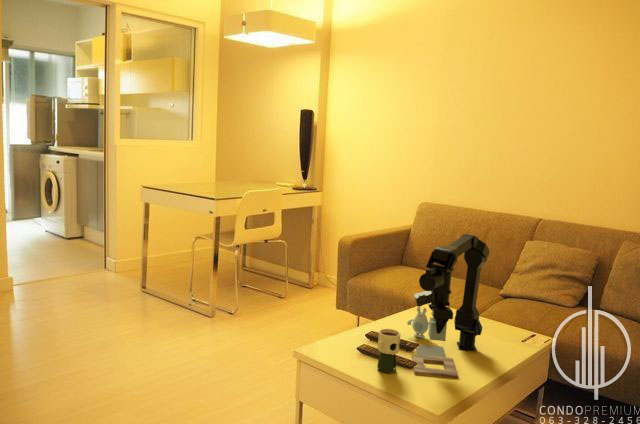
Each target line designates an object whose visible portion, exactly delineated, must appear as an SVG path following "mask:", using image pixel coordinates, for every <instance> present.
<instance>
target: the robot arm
mask: <svg viewBox="0 0 640 424" xmlns="http://www.w3.org/2000/svg"><path fill="white" fill-rule="evenodd" d="M462 254H463V260H464V261H465V263H466V267H467V268H466V273H465V274H466V276H465V281H464V282H465V283H464V291H463V297H462V305H460V307H458V308H457V309H456V311H455V316H454V312H453V310H452V309H451V307H450V306H451V303H450V296H451V294H452V290H451V284H452V272H454V271H455V269H454V266H455V265H456V264H457V262H458V257H460V256H461V255H462ZM489 256H490V248H489V247H488V245H487V243H485V242H484V241H482V240H481V239H480V238H479V237H478V236H476V235H475V234H468V233H465V234H461V236H460V237H459V238H457V239H455V240H454V241H453V242H451V243H449V244H448V245H439V246H436V247H435V248H434V249H433V250H432V251H431V254H430V256H429V259H428V261H427V263H426V266H425V268H426V269H425V273H422V274H421V275H420V277H419V279H418V283H419V286H420V288H421V289H422V290H423V291H421V292H417V293H414V295H413V297H414V299H415V303H416V306H417V307H420V308H421V307H422V306H425V305H428V307H429V309H430V311H431V317H432V318H435V320H436V331H437V333H438V334H440V333H441V331H442V330H443V328H444V326H445V325H446V323H447V324H448V321H450V320H453V319H454V330H455V331H459V339H458V340H459V341H456V345H457V348H458V349H459V350H462V351H470V352H471V351H473V352H477V350H478V349H477V347H476V338H477V336H481V335H482V332H483V325H482V323H481V321H480V313H479V310H478V308H477V302H478V301H477V299H478V293H479V292H478V291H479V286H480V277H481V270H482V267H483V266H484V265H485V264H486V263H487V261H488V258H489Z"/></svg>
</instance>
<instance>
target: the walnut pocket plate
mask: <svg viewBox="0 0 640 424" xmlns="http://www.w3.org/2000/svg"><path fill="white" fill-rule="evenodd" d="M411 359H412V360H413V361H414V362H416V363H417V366H414V368H413V373H414V375H421V376H432V377H441V378H442V377H443V378H449V379H450V378H452V379H459V374H458V371H457V367H456V364H455V361H454V358H453V357H447V356H446V357H437V356H426V355H417V353H416V354H415V353H414V354H413V353H412V354H411ZM413 361H412V362H413ZM425 363H429V364H442V365H443V367H444V369H442V368H441V369H440V368H434V367H433V368H431V367H425Z"/></svg>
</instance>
